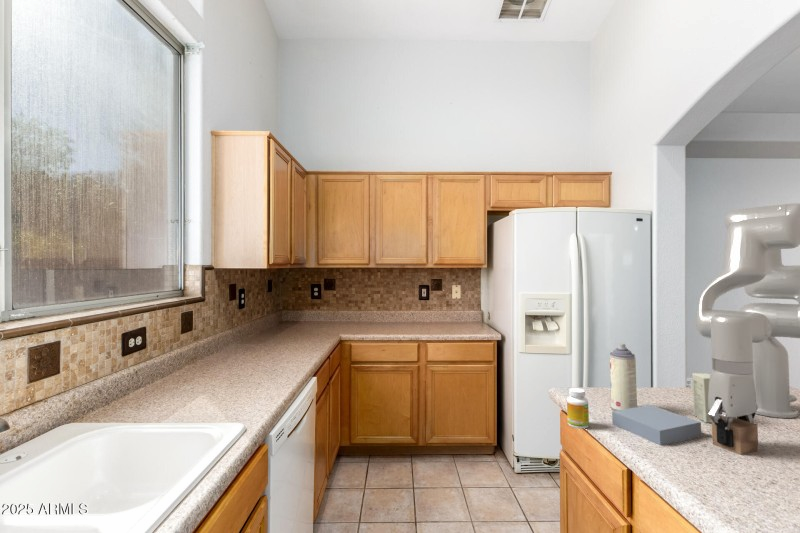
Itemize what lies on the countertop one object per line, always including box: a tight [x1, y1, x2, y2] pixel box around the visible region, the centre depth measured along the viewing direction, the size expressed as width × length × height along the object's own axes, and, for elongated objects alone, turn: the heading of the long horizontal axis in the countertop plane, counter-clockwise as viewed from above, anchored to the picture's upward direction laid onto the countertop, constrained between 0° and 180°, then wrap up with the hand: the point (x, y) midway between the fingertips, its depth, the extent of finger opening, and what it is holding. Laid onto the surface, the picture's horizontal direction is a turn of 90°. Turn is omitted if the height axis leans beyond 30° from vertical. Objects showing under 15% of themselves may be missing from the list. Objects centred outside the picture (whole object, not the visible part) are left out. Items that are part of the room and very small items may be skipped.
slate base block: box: [611, 404, 702, 446], centre depth 104 cm, size 14×14×4 cm
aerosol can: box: [609, 343, 638, 411], centre depth 119 cm, size 7×7×20 cm
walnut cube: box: [711, 417, 759, 456], centre depth 93 cm, size 6×6×6 cm
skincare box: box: [691, 372, 712, 424], centre depth 110 cm, size 6×4×12 cm
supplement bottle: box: [566, 387, 590, 430], centre depth 108 cm, size 5×5×10 cm
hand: (734, 441), depth 93 cm, fingers closed on walnut cube, 6 cm apart
